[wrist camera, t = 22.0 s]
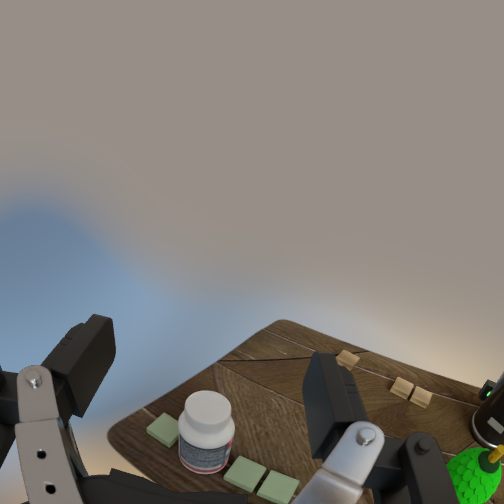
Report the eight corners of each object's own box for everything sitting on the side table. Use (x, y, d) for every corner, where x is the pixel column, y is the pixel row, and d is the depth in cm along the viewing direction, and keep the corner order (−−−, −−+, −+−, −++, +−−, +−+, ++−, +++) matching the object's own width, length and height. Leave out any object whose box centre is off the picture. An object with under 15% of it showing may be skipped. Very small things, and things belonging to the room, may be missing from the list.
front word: (164, 417, 29) (164, 412, 29) (297, 484, 23) (299, 480, 23) (146, 432, 27) (146, 427, 26) (285, 506, 20) (287, 503, 20)
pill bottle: (232, 473, 24) (245, 429, 21) (180, 475, 22) (179, 431, 19) (223, 435, 29) (233, 384, 26) (177, 436, 27) (176, 384, 24)
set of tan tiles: (342, 353, 47) (344, 349, 46) (429, 397, 36) (432, 393, 36) (333, 362, 44) (335, 357, 44) (425, 409, 34) (428, 404, 34)
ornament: (429, 467, 24) (474, 415, 21) (474, 480, 20) (523, 431, 16) (414, 516, 17) (471, 470, 14) (465, 528, 13) (526, 483, 10)
